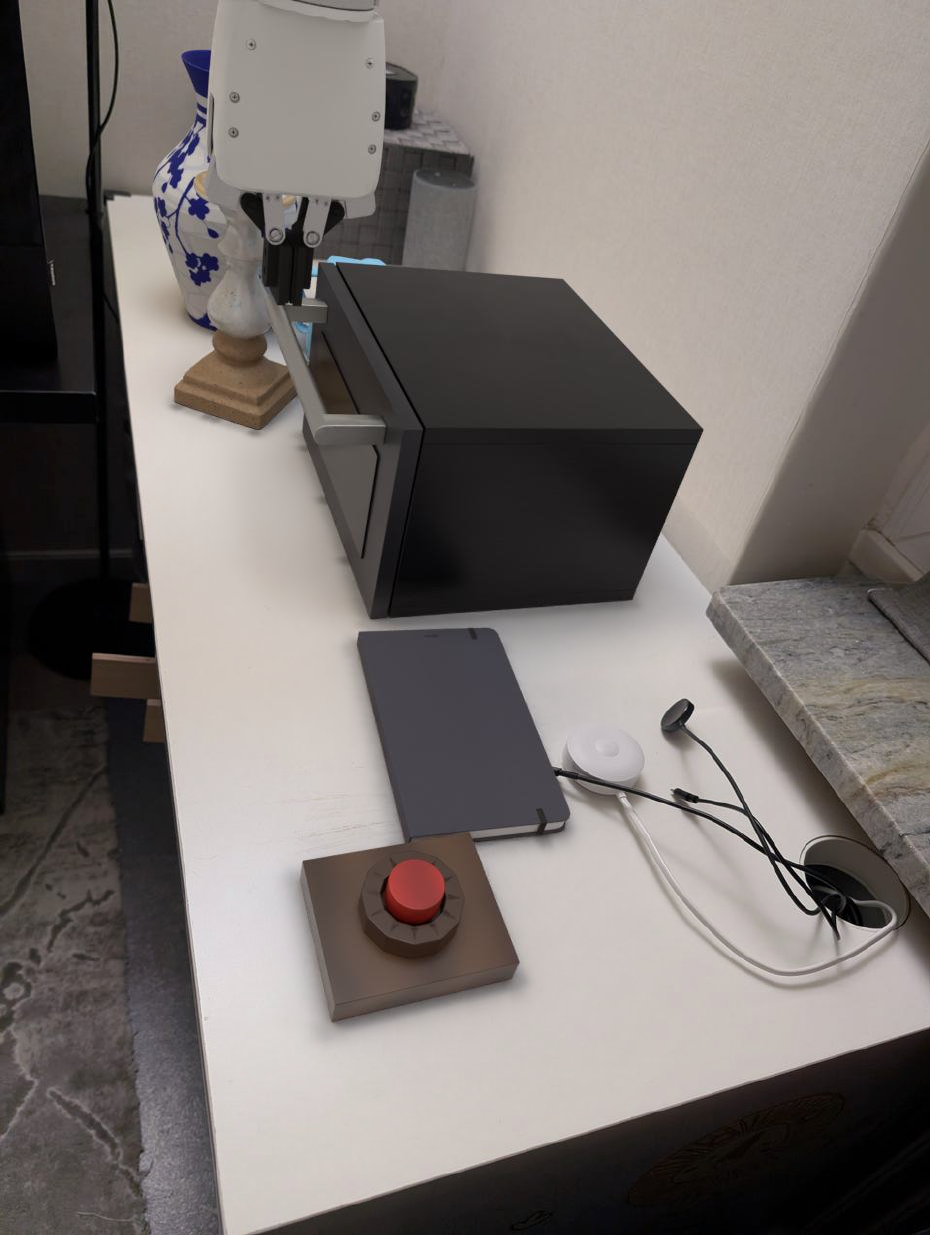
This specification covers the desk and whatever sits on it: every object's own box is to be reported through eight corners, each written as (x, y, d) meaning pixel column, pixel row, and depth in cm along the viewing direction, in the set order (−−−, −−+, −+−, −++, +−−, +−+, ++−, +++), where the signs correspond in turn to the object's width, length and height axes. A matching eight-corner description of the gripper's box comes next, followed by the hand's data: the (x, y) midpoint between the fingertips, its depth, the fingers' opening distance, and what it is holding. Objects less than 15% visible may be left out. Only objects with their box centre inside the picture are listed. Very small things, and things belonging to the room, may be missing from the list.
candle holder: (217, 365, 111) (221, 159, 96) (299, 392, 110) (317, 188, 95) (171, 401, 103) (168, 182, 87) (260, 430, 102) (272, 214, 86)
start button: (392, 929, 55) (397, 914, 54) (378, 879, 58) (382, 863, 57) (447, 918, 57) (452, 903, 56) (430, 869, 59) (435, 854, 58)
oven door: (305, 622, 79) (328, 428, 67) (249, 431, 101) (259, 256, 88) (386, 617, 82) (423, 429, 70) (315, 432, 104) (333, 262, 91)
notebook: (356, 643, 79) (406, 850, 64) (358, 630, 78) (410, 837, 63) (491, 638, 83) (568, 831, 68) (495, 626, 82) (574, 819, 67)
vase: (176, 350, 112) (172, 80, 92) (140, 285, 123) (130, 33, 104) (320, 345, 121) (344, 97, 101) (274, 285, 132) (288, 52, 113)
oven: (389, 618, 82) (425, 427, 69) (317, 433, 104) (335, 261, 91) (632, 600, 92) (704, 429, 79) (520, 434, 113) (563, 278, 100)
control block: (331, 1021, 54) (338, 990, 52) (299, 878, 61) (304, 844, 58) (512, 978, 58) (527, 947, 56) (464, 849, 65) (475, 816, 63)
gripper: (415, -16, 54) (375, 281, 66) (157, -67, 49) (163, 268, 61) (457, 11, 50) (405, 326, 61) (174, -42, 44) (177, 317, 56)
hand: (284, 297), depth 61 cm, fingers closed
